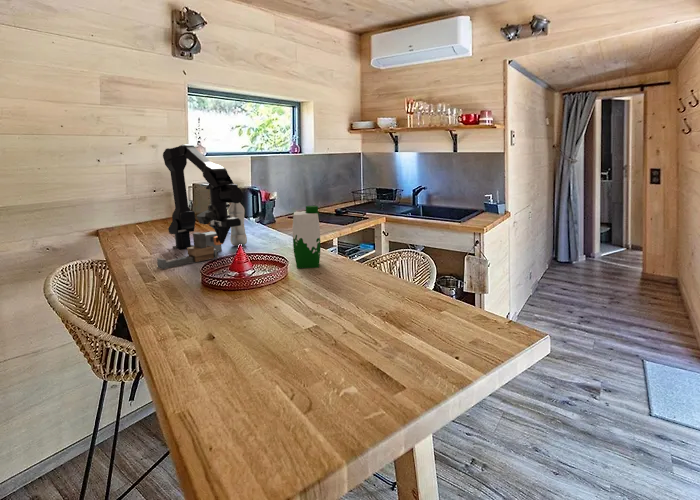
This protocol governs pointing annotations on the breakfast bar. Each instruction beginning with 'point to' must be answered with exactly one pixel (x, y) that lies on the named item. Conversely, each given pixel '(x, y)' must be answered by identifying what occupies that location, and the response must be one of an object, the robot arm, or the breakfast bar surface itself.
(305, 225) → the milk carton
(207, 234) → the block
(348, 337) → the breakfast bar surface
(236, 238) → the plastic bottle
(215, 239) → the plunger
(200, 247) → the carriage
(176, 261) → the rail
